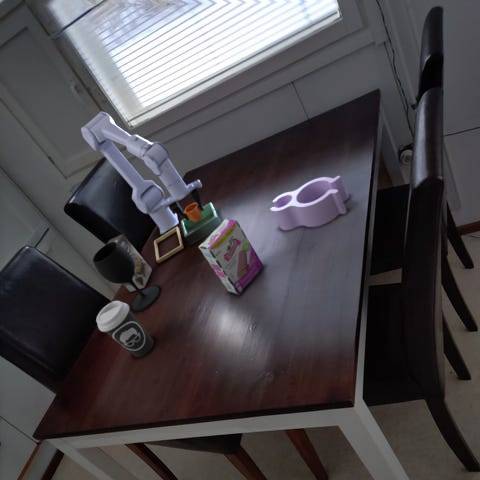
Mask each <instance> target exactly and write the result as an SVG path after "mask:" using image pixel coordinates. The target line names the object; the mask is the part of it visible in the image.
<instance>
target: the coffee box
mask: <svg viewBox="0 0 480 480" xmlns="http://www.w3.org/2000/svg"><path fill="white" fill-rule="evenodd" d="M111 242H116V243H118V244H119V245H121V246H122V247H123V248H125V249H126V250H127V251H128V252H129V254H130V255H131V256H132V258H133V260H134V264H135V272H134V276H133V281H134V283H135V284H136V286H137V287H138V288H139V289H140V290H141V289H145V288H146V285H147V283H148V281H149V278H150V277H151V274H152V272H153V269H152V268H151V266H150V265H149V264H148V263H147V261H146V260H145V259H144V258H143V256H141V254H140V253H139V252H138V251H137V249H136V248H135V247H134V246H133V244H132V243H131V242H130V240H128V238H127V237H126V235H124V234H120V235H117V236H116V237H115V236H114V237H113V238H111V239H109V240H108V241H107V243H106V245H107V244H109V243H111ZM123 286H125V287H126V289H127V290H128V291H129V292H130V293H132V292H134V291H135V292H136V291H137V290H136V289H135V288H134V287H133V286H132V285H131V284H129V283H124V284H123Z"/></svg>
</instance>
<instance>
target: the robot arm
mask: <svg viewBox="0 0 480 480" xmlns="http://www.w3.org/2000/svg"><path fill="white" fill-rule="evenodd" d="M80 131H81V135H82V138H83V139H84V141H85V142H86V143H87V144H88V145H89V146H90V147H91V148H92V149H93V150H94V151H95V152H101V154H102V155H103V156H104V157H105V158H106V160H108V162H109V163H110V164H111V165H112V167H113V168H115V170H116V171H117V172H118V173H119V174H120V175H121V177H123V179H124V180H125V181H126V182H127V184H128V185H129V186H130V187H131V188H132V194H131V199H132V201H133V202H134V204H135V205H136V208H137V209H138V210H139V211H140V212H142V213H143V214H146V215H149V216H150V218H151V219H152V220H153V222H154V223H155V225H156V226H157V227H158V229H159V234H160V235H162V234H165V233H167V231H170V230H171V229H173V227H175V226H177V225H179V218H178V214H179V215H180V216H182V218H184V219H186V220H187V221H188V220H189V219H188V217H187V216H186V215H185V213H184V209H183V207H181V205H180V203H179V201H181V200H182V199H184V198H185V197H187V196H188V195H190V194H191V197H192V198H193V200H194V201H195V203H197V204H198V205H199V207H200V209H201V211H204V209H203V207H204V206H203V205H202V202H201V197H200V192H199V188H202V187H203V184H202V183H201V180H200V179H197V180H194V181H193V182H190V183H189V184H186V183H185V182H184V180H183V179H182V177H181V175H180V174H179V172H178V171H177V169H176V168H175V166H174V164H173V163H172V162H171V160H170V159H169V158H170V152H169V150H168V149H167V147H166V146H165V145H164V144H163V143H161V142H159V141H149V140H147V139H145V138H144V137H141V136H140V135H138V134H132V135H131V134H130V133H128V132H127V131H126V130H123V129H122V128H121V127H119V126H118V125H117V124H116V122H115V121H114V119H113V117H111V116H110V114H109V113H107V112H105V111H102V110H101V111H99V113H98V114H97V115H95V116H94V117H93V118H92V119H90V121H88V122H87V123H86V124H85V125H84V126H81V128H80ZM114 142H116V143H118V144H120V145H122V146H124V147H126V151H127V152H128V153H130V154H132V155H134V156H135V157H137V158H139V159H141V160H142V161H143V162H144V164H145V165H146V167H148V169H150V170H151V171H152V173H153V174H154V175H156V176H158V178H159V179H160V181H161V183H162V184H163V185H164V187H165V188H166V190H167V191H168V193H169V195H170V196H168V197H167V198H166V199H165V192H164V190H163V189H162V188H161V186H159V185H157V184H156V183H155V182H154V181H153V180H145V179H144V178H143V177H142V176H141V175H140V174H139V172H138V171H137V170H136V169H135V168H134V166H133V165H132V164H131V162H129V160H128V159H127V158H126V157H125V156H124V154H123V153H121V151H120V150H119V149H118V148H117V146H116V145H115V143H114ZM173 212H175V213H173Z"/></svg>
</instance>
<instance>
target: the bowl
mask: <svg viewBox="0 0 480 480" xmlns="http://www.w3.org/2000/svg"><path fill="white" fill-rule="evenodd" d="M183 211H184V213H185V215H186V216H187V217H188V219H190V220H193V221H194V222H197V221H199V220H200V219H201V218H202V212H201V209H200V207H199V205H198V204H197V202H193V203H190V204H189V205H188V206H186V208H185V209H183Z"/></svg>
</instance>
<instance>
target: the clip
mask: <svg viewBox="0 0 480 480" xmlns="http://www.w3.org/2000/svg"><path fill="white" fill-rule="evenodd" d="M349 198H350V197H349V195H348V192H347V190H346V187H345V185H344V183H343V180H342V178H341V176H340V175H337V176H335V177H334V178H333V177H329V176H321V177H318V178H315V179H312V180H310V181H308V182H306V183H304V184H303V185H301V186H300V187H299V188H297V189H295V190H293V191H286V192H283V193H282V194H279V195H278V196H276V197H275V198H274V199H273V200H272V203H273V205H274V206H272V207H271V208H270V211H271V214H272V215H273V217H274V219H275V220H276V222H277V225H278V226H279V228H280V229H281V230H283V231H290V230H293V229H295V228H298V227H300V226H305V227H309V228H316V227H320V226H323V225H326V224H328V223H329V222H332V221H333V220H335V219H336V218H337V217H338V216H339V215H346V214H347V207H345V204H344V202H346V201H347V200H348V199H349Z"/></svg>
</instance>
